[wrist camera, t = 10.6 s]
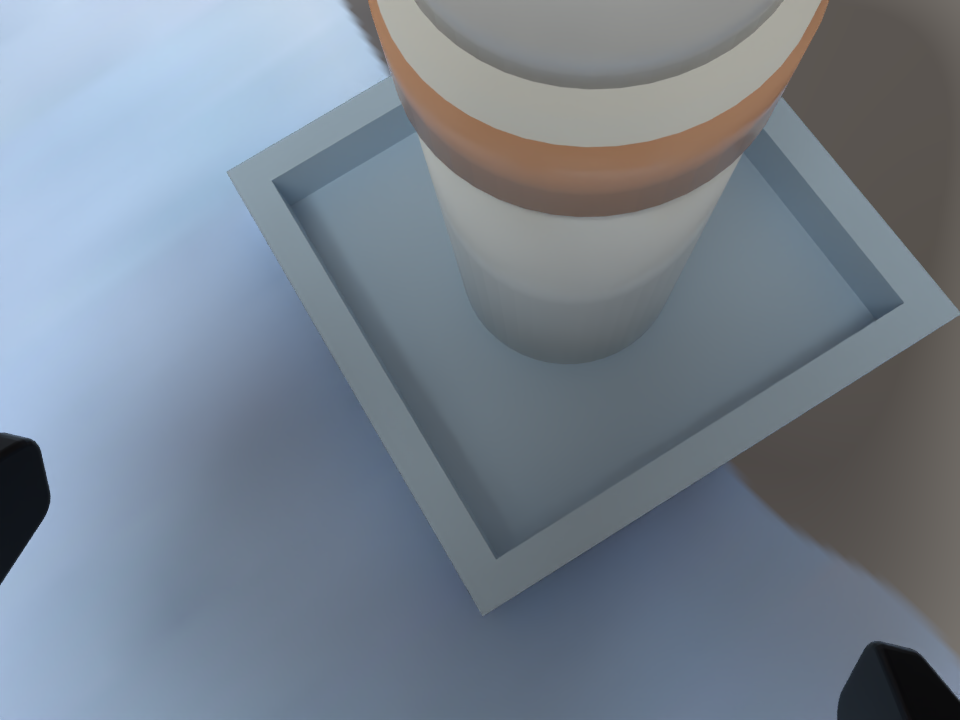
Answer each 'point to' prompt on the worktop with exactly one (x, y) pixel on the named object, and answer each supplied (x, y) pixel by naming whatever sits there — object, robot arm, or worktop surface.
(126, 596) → the worktop surface
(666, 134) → the copper banded cylinder
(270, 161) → the tray
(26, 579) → the worktop surface
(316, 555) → the worktop surface
